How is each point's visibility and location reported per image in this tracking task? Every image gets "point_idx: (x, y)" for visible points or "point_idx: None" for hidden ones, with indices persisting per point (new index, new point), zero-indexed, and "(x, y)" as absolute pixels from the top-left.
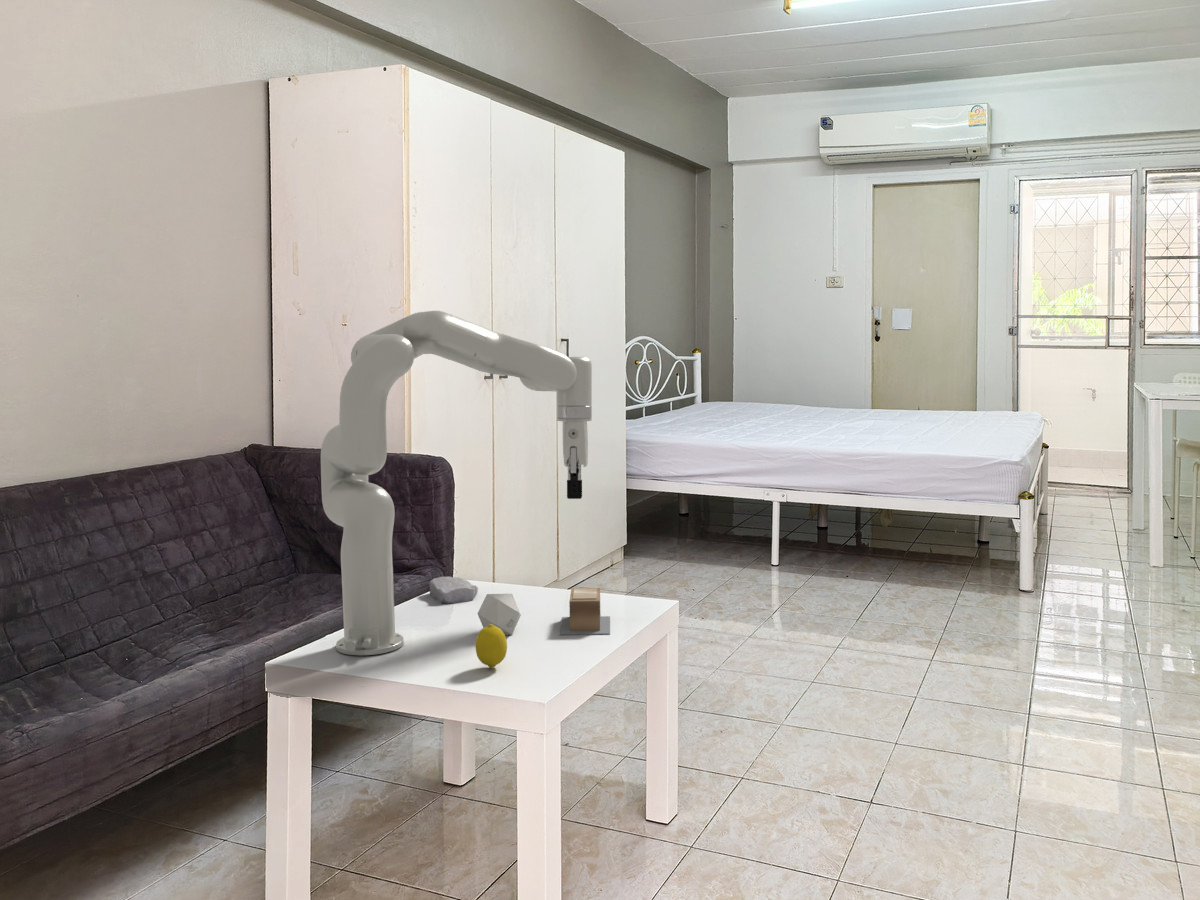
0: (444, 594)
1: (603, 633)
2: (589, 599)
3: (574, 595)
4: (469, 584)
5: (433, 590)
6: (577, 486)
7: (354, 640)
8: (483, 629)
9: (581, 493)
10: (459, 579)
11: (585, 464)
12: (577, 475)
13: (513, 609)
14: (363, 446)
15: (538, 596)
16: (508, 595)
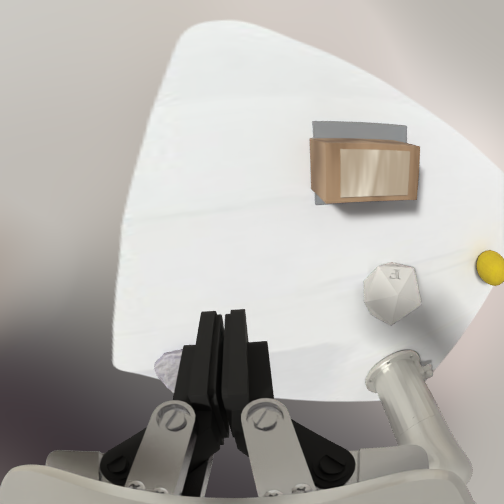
0: None
1: (406, 135)
2: (409, 164)
3: (388, 193)
4: (172, 362)
5: None
6: (269, 377)
7: (429, 375)
8: (502, 282)
9: (244, 326)
10: (168, 376)
11: (454, 476)
12: (327, 440)
13: (415, 277)
14: None
15: (171, 264)
16: (404, 297)
